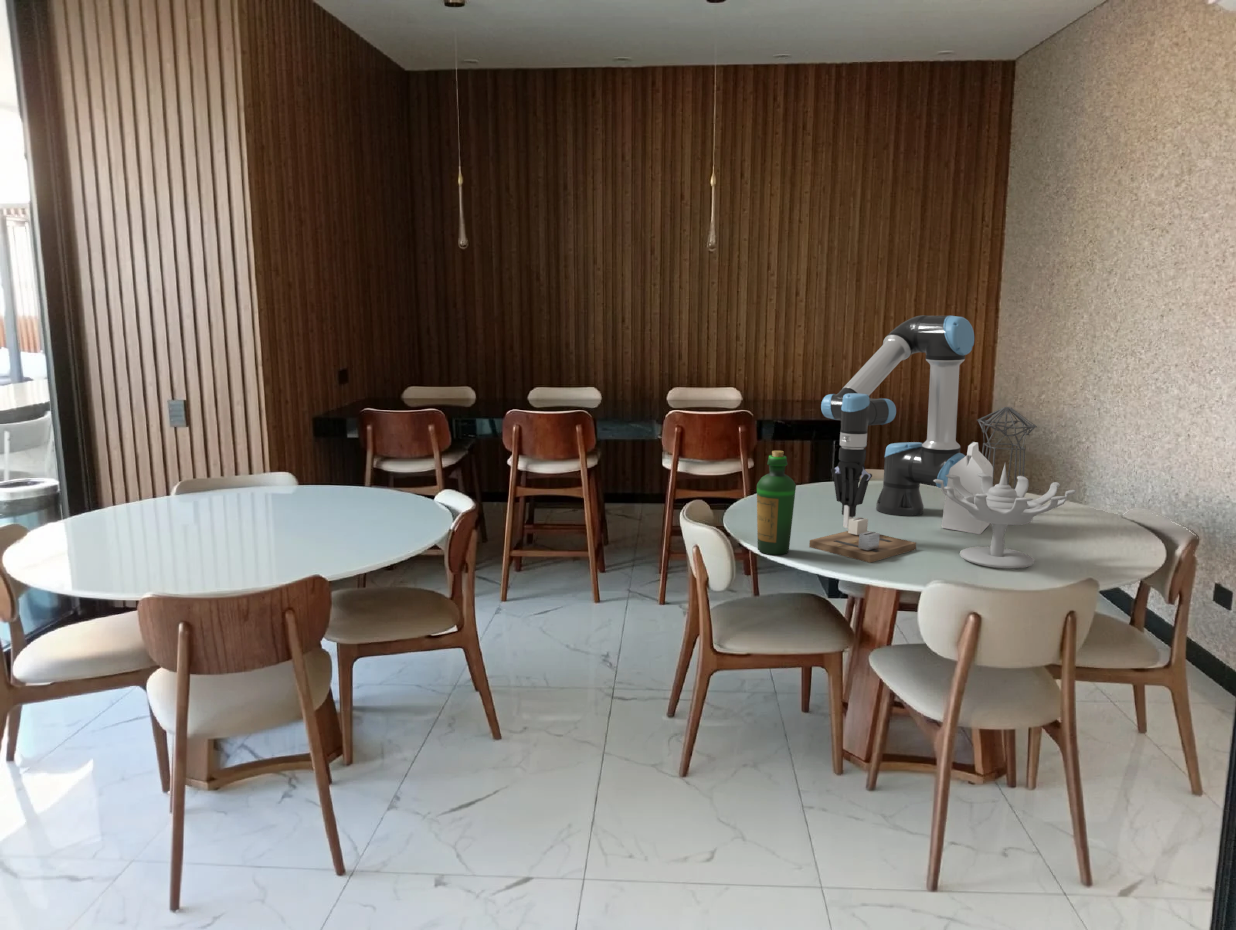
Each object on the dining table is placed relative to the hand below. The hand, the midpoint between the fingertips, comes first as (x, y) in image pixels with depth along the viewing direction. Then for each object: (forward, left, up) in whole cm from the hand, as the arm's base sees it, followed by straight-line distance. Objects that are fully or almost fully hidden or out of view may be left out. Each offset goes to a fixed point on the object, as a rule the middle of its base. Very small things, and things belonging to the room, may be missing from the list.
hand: (847, 526), depth 267 cm
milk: (+14, +41, -3) cm, 44 cm away
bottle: (-4, -29, -4) cm, 29 cm away
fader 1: (+3, 0, -1) cm, 4 cm away
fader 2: (+15, -12, -1) cm, 20 cm away
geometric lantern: (+7, +75, -4) cm, 75 cm away
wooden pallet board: (+9, -6, -4) cm, 12 cm away
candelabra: (+39, +12, -4) cm, 41 cm away
